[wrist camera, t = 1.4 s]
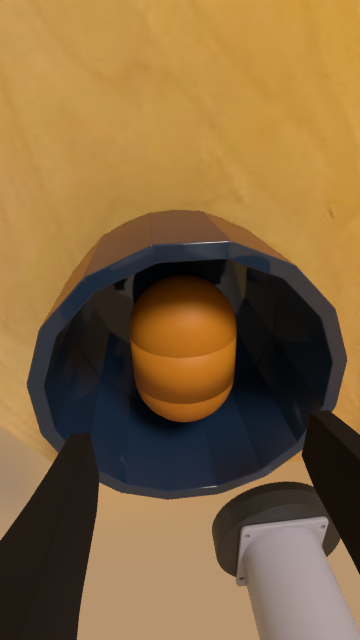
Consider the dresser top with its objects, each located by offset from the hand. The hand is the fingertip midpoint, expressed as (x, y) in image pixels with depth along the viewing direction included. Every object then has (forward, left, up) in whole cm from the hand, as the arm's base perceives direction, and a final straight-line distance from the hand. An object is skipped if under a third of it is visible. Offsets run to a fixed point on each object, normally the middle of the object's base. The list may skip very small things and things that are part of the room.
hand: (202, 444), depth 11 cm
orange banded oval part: (0, 0, -8) cm, 8 cm away
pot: (0, 0, -9) cm, 9 cm away
